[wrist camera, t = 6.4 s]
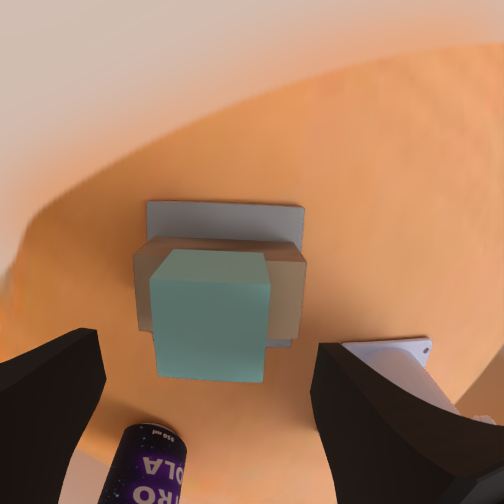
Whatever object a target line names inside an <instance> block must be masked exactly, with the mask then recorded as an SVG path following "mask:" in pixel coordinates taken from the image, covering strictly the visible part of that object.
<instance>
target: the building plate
mask: <svg viewBox="0 0 504 504" xmlns="http://www.w3.org/2000/svg"><path fill="white" fill-rule="evenodd" d="M304 213H305V208H304V207H302V206H287V205H270V204H250V203H228V202H199V201H153V200H150V201H148V202H147V242H149V241H150V240H151V239H152V238H154V237H155V236H159V237H185V238H210V239H234V240H256V241H278V242H294V244H295V245H296V247H297V248H298V250H299V251H300V253H301V248H302V237H303V225H304ZM152 333H153V332H152ZM291 340H292V339H266V347H271V348H291ZM153 341H154V335H153Z"/></svg>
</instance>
